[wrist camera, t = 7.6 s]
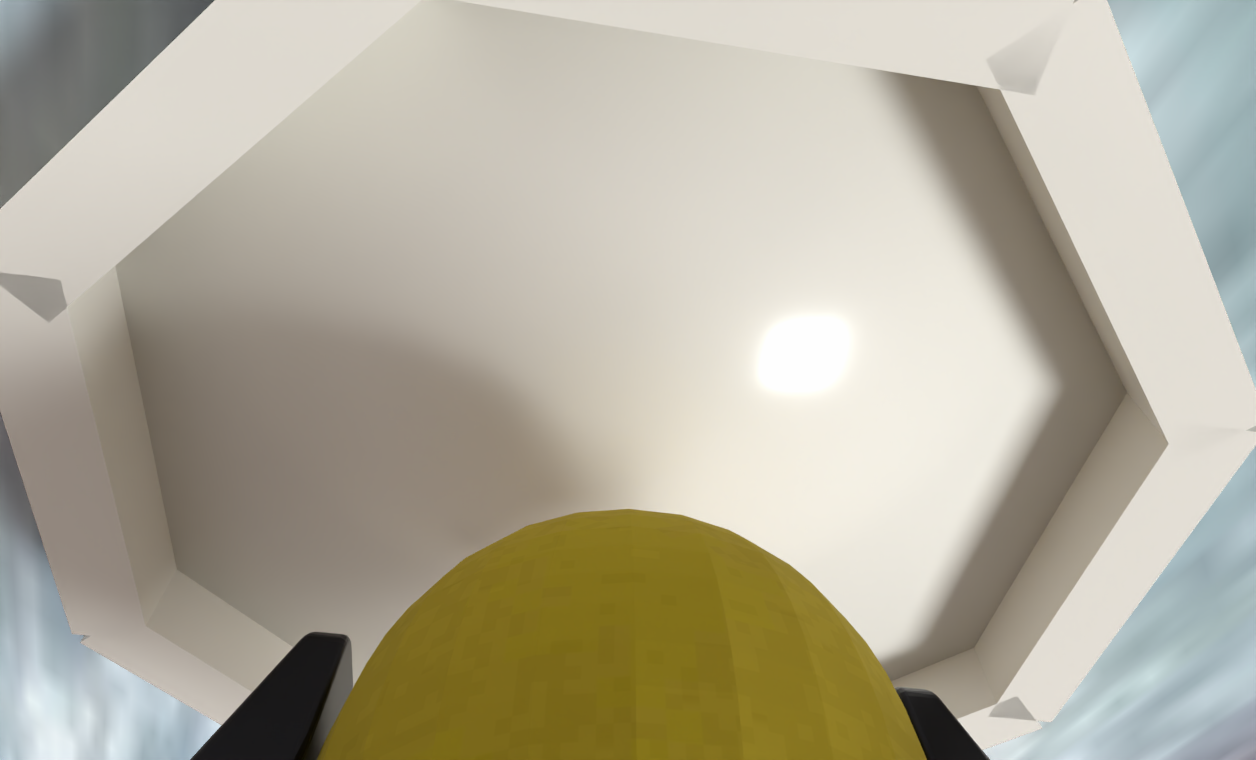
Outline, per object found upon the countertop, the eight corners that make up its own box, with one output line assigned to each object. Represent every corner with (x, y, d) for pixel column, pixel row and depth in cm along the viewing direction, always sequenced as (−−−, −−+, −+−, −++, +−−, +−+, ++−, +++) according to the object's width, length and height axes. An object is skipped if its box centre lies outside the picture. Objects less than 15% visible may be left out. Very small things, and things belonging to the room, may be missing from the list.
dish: (1390, 6, 9) (1543, 54, 7) (920, 765, 17) (949, 860, 15) (-54, -253, 8) (-216, -260, 6) (173, 702, 16) (125, 801, 14)
